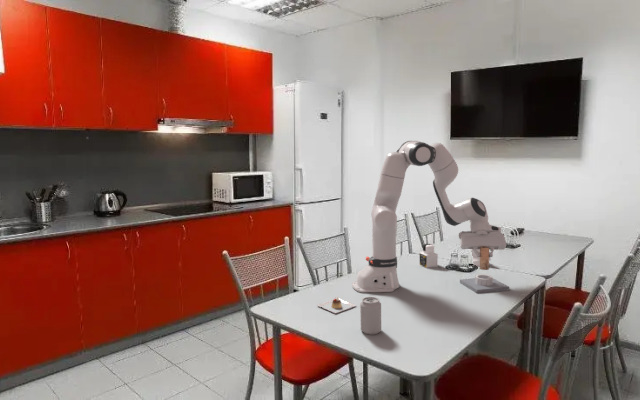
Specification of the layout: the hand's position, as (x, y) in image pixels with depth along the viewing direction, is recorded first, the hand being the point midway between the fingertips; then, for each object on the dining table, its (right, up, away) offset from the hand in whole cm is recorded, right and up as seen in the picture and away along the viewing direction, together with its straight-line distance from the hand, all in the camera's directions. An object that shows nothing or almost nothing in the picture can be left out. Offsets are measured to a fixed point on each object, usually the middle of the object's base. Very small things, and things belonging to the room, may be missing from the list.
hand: (484, 256), depth 194 cm
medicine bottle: (-16, -10, +38) cm, 42 cm away
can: (-58, -22, -41) cm, 74 cm away
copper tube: (0, -6, +1) cm, 6 cm away
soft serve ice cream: (+10, -9, +39) cm, 42 cm away
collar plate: (0, -14, +2) cm, 14 cm away
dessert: (-69, -20, -17) cm, 74 cm away
